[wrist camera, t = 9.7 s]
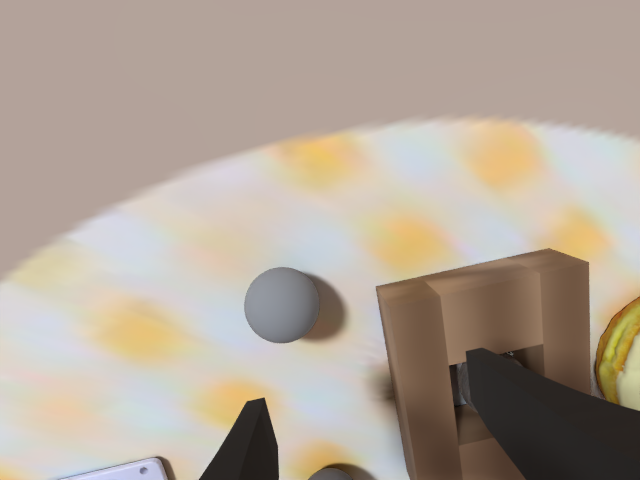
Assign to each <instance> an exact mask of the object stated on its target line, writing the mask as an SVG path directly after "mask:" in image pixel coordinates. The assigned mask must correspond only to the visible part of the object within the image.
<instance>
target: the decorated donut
mask: <svg viewBox="0 0 640 480" xmlns="http://www.w3.org/2000/svg"><path fill="white" fill-rule="evenodd" d="M596 355H597V361H596V362H597V363H596V375H597V381H598V384H599V388H600V390H601V392H602V393H603V395H604V396H605V399H606V400H607V401H609V402H612V403H615V404H618V405H621V406H624V407H628V408H631V409H635V410H639V411H640V297H639V298H637V299H636V300H634V301H633V302H631V303H630V304H628V305H627V306H626V307H625V308H624V310H622V311H620V312H619V313H618V314H616V315H615V316H614V318H613V319H612V320H611V322H610V324H609V327H608V328H607V330H606V332H605V333H604V334H603V335H602V336H601V338H600V342H599V345H598V349H597V353H596Z"/></svg>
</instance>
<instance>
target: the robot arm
mask: <svg viewBox="0 0 640 480" xmlns="http://www.w3.org/2000/svg"><path fill="white" fill-rule="evenodd" d="M465 352H466V361H467V370H468V379H469V388H470V398H471V402H472V403H473V405H474V407H475V409H476V410H477V412H478V414H479V416H480V417H481V419H482V421H483V422H484V424H485V426H486V427H487V429H488V430H489V431H490V433H491V434H492V435H493V437H494V438H495V439H496V441H497V442H498V443H499V445H500V446H501V447H502V449H503V450H504V451H505V453H506V454H507V455H508V457H509V458H510V459H511V461H512V462H513V463H514V464H515V466H516V467H517V468H518V470H519V471H520V472H521V474H522V475H523V476H524V478H525V479H526V480H640V411H639V410H635V409H631V408H628V407H624V406H621V405H618V404H615V403H612V402H609V401H606V400H603V399H600V398H597V397H594V396H591V395H588V394H585V393H583V392H580V391H578V390H575V389H572V388H570V387H568V386H565V385H563V384H560V383H558V382H555V381H553V380H551V379H549V378H546V377H544V376H542V375H540V374H537V373H535V372H533V371H531V370H529V369H527V368H524V367H522V366H520V365H518V364H516V363H514V362H512V361H510V360H508V359H506V358H504V357H502V356H500V355H498V354H496V353H494V352H491V351H489V350H487V349H485V348H477V349H473V350H469V351H465ZM143 467H145V468H147V469H144V468H143ZM60 480H168V478H167V476H166V473H165V470H164V468H163V465H162V462H161V461H160V460H159V459H157V458H150V459H145V460H141V461H137V462H133V463H128V464H124V465H120V466H115V467H111V468H107V469H103V470H98V471H94V472H90V473H86V474H81V475H77V476H73V477H69V478H64V479H60ZM199 480H279V465H278V445H277V441H276V438H275V434H274V430H273V427H272V423H271V419H270V416H269V412H268V409H267V405H266V401H265V398H260V399H256V400H252V401H247V403H246V404H245V405H244V407H243V409H242V411H241V413H240V414H239V416H238V418H237V420H236V422H235V423H234V425H233V427H232V429H231V430H230V432H229V434H228V435H227V437H226V439H225V440H224V442H223V444H222V445H221V447H220V449H219V450H218V452H217V454H216V455H215V457H214V458H213V460H212V461H211V463H210V464H209V466H208V467H207V469H206V470H205V471H204V473H203V474H202V476H201V477H200V479H199Z"/></svg>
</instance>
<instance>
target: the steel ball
mask: <svg viewBox="0 0 640 480" xmlns="http://www.w3.org/2000/svg"><path fill="white" fill-rule="evenodd" d="M498 355H500V356H502V357H504V358H506V359H508V360H510V361H512V362H514V363H516V364H518V365H520V366H522V365H521V363H520V362H519V361H518V360H516V359H515V358H514V357H512V356H511V355H509V354H507V353H501V354H498ZM522 367H523V366H522ZM458 384H459V389H460V392H461V395H462V397H463V398H464V400H465V402H466V403H467V404H468V405H469V407H471V408H472V409H473V410H474V411H475V412H476V413H478V412H477V410H476V409H475V407H474V405H473V403H472V402H471V398H470V388H469V379H468V370H467V362H463V363H462V365H461V367H460V370H459V373H458Z"/></svg>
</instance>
